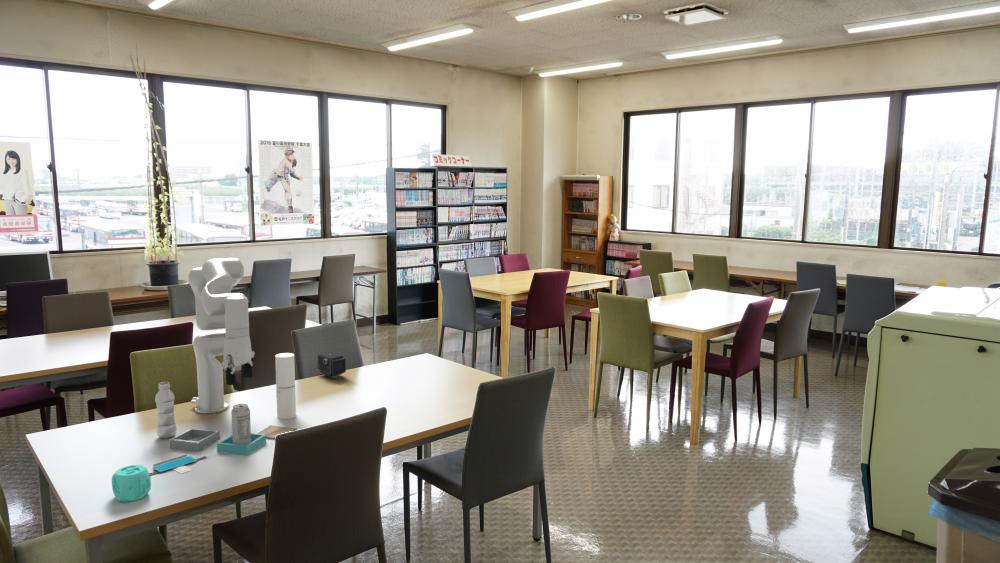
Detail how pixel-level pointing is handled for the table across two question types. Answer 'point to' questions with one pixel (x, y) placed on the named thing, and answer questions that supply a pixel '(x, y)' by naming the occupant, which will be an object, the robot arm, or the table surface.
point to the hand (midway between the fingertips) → (239, 381)
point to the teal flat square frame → (229, 447)
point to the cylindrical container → (285, 385)
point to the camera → (331, 364)
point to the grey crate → (182, 442)
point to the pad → (275, 431)
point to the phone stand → (175, 464)
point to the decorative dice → (131, 483)
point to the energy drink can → (241, 424)
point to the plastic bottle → (165, 411)
